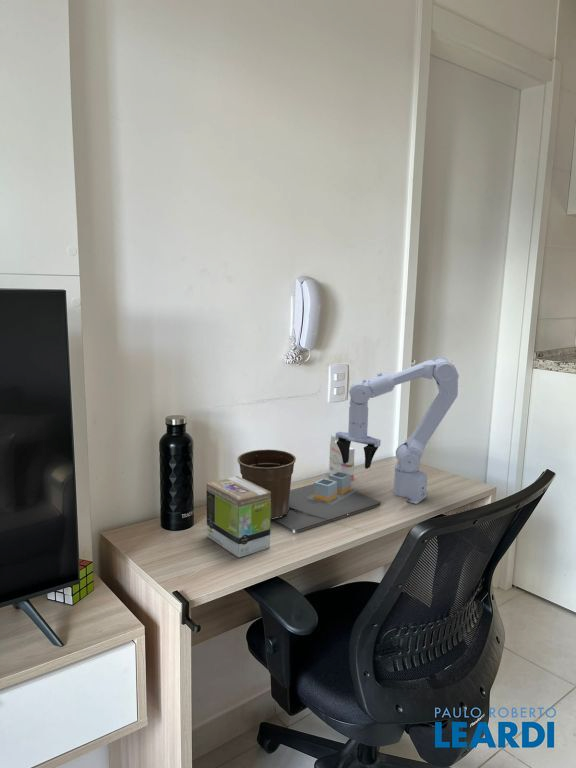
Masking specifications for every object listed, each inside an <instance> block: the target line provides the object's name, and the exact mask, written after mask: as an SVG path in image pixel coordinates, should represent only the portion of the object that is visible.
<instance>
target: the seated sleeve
mask: <svg viewBox="0 0 576 768" xmlns="http://www.w3.org/2000/svg"><path fill="white" fill-rule="evenodd" d="M328 479H329V480H333V481H337V493H338V494H344V493H346V492H348V491H349V490H351V489H352V488H351V487H352V486H351V485H352V480H351V474H347V473H343V472H339V471H336V472H334V473H332V474H328Z"/></svg>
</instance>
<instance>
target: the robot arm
mask: <svg viewBox="0 0 576 768" xmlns="http://www.w3.org/2000/svg"><path fill="white" fill-rule="evenodd" d="M459 377H460V376H459V373H458V370H457V368H456V366H455V364H453V363H452V362H450V361H449V360H448V359H447V358H445V357H436V358H434V359H428V360H425V361H422V362H420V363H417V364H415V365H413V366H410V367H408V368H405V369H404V370H401V371H398V372H396V373H394V374H389V373H387V372H384V373H382V372H379V373H377V374H376V376H374V377H371V378H368V379H366V378H364V379H362V381H357V382H354V383H353V384H352V385H351V386H350V387H349V390H348V392H349V393H348V394H349V396H350V400H349V406H348V407H349V408H348V432H343V431H336V432H335V437H336V439H339V440H338V441H336V443H337V445H338V447H339V449H340V452H341V455H342V459H343V463H344V464H345V463H347V462H348V461H349V449H350V447H351V443H352V442H353V443H358V444H363V445H365V446H364V447H363V452H364V469H365V470H367V469H371V465H372V461H373V458H374V456H375V454H376V452H377V451H378V449H379V447H381V439H379V438H375V437H372V436H369V435H368V427H369V425H368V424H369V402H368V401H369V400H370V399H373V398H377V397H380V396H382V395H385V394H387V393H390V392H392V391H393V390H394V388H395V387H396V386H398V385H400V384H404V383H407V382H410V381H413V380H416V379H419V378H424V379H429V380H433V378H434V380H435V382H436V386H437V390H438V393H437V395H436V396H435V398H434V399H433V400H432V402H431V405H429V407H428V409H427V410H426V412H425V413H424V415H423V417H422V418H421V420H420V421H419V423H418V424H417V426H416V428H415V429H414V430H413V432H412V434H411V435H410V436H409V437H408V438H406V440H405V441H404V442H403V443H402V444H399V446H398V447H396V450H395V457H396V459H397V462H396V464H395V465H394V478H393V479H394V481H393V494H394V495H396V496H397V497H402V498H408V499H407V500H406V502H407V503H411V504H415V505H418V504H419V503H420V502H421V501H423V500H424V499H426V498H427V497H428V495H427V488H428V485H427V484H428V475H427V473H426V472H424V471H421V470H420V465H421V458H422V456H423V455H424V453H425V448H426V445H427V444H428V443H429V441H430V439H431V438H432V436H433V434H434V433H435V431H436V430H437V428H438V427H439V425H440V423H441V422H442V421H443V419H444V418H445V416H446V415H447V413H448V411H449V410H450V409H451V407H452V406H453V404H454V402H455V400H456V399H457V397H458V396H459V395H458V394H459V393H458V392H459V389H458V388H459V385H458V384H459V382H458V381H459Z"/></svg>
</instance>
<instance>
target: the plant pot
mask: <svg viewBox="0 0 576 768" xmlns="http://www.w3.org/2000/svg"><path fill="white" fill-rule="evenodd" d="M296 460H297V458H296V456H295V455H294V454H293V453H291V452H289V451H285V450H279V449H256V450H250V451H247V452H244V453H242V454H240V455H238V457H237V463H238V464H239V473H240V474H241V478H243V479H245V480H247V481H249V482H251V483H253V484H255V485H257V486H260V487H262V488H264V489H266V490H268V491H270V492H271V516H270V521H272V520H271V519H272V518H275V517H280V516H283V515H284V516H286V515H285V514H286V513H287V512H289V506H290V496H291V495H290V492H291V484H292V477H293V476H292V475H293V473H294V466H295V463H296ZM287 514H288V513H287ZM284 516H283V517H284Z"/></svg>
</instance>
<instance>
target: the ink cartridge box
mask: <svg viewBox="0 0 576 768" xmlns="http://www.w3.org/2000/svg"><path fill="white" fill-rule="evenodd" d="M338 440H339V439H336V436H334V435H331V436H330V441H329V442H330V444H329V464H328V465H329V469H328V470H329V471H328V475H330V474H332V473H334V472H336V471H339V472H343V473H347V474H351V481H354V477H355V476H354V475H355V473H354V471H355V450H356V449H355V448H353V447H351V446H350V449H349V461H348V462H347V463H345V464H344V463H343V459H342V455H341V452H340V449H339V447H338V445H337V441H338Z"/></svg>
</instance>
